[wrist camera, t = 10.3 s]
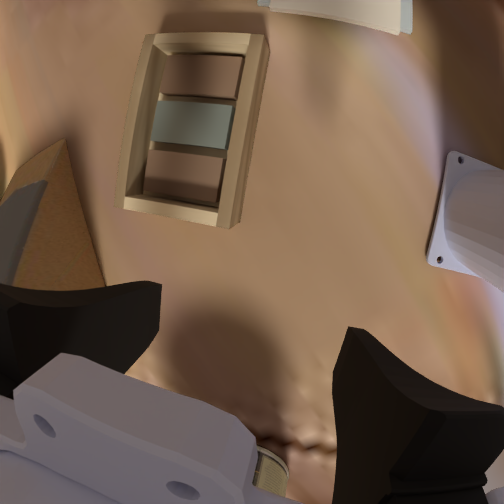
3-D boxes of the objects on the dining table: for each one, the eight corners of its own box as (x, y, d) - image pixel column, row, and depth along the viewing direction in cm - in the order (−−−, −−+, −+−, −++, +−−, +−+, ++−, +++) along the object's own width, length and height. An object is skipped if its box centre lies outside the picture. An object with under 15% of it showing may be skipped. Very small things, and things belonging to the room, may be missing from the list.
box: (270, 52, 18) (264, 34, 15) (239, 222, 21) (229, 229, 18) (163, 48, 19) (145, 34, 16) (135, 202, 22) (113, 206, 19)
